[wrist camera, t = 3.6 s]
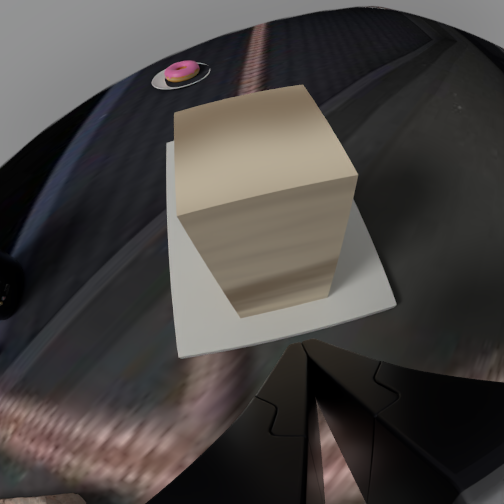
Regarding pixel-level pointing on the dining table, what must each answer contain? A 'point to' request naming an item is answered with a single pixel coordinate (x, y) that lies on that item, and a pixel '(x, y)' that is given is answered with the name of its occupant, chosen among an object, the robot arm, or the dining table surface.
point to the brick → (46, 499)
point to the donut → (177, 74)
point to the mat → (275, 322)
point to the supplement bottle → (9, 284)
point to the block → (264, 196)
